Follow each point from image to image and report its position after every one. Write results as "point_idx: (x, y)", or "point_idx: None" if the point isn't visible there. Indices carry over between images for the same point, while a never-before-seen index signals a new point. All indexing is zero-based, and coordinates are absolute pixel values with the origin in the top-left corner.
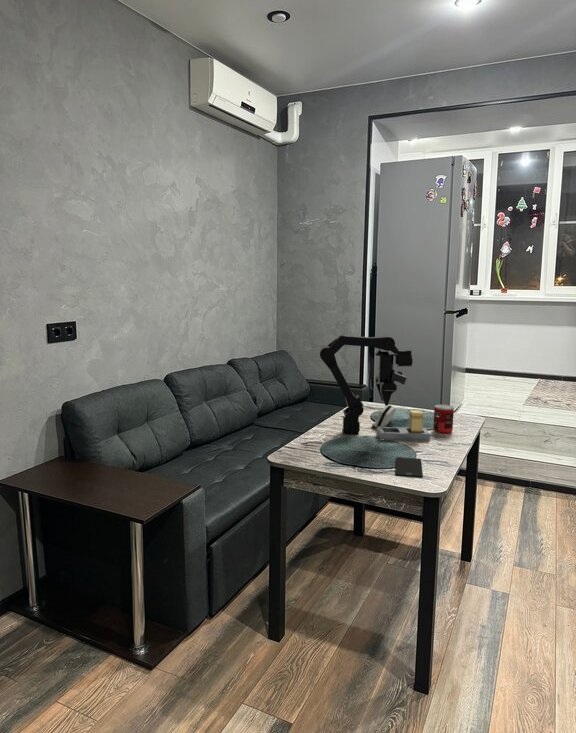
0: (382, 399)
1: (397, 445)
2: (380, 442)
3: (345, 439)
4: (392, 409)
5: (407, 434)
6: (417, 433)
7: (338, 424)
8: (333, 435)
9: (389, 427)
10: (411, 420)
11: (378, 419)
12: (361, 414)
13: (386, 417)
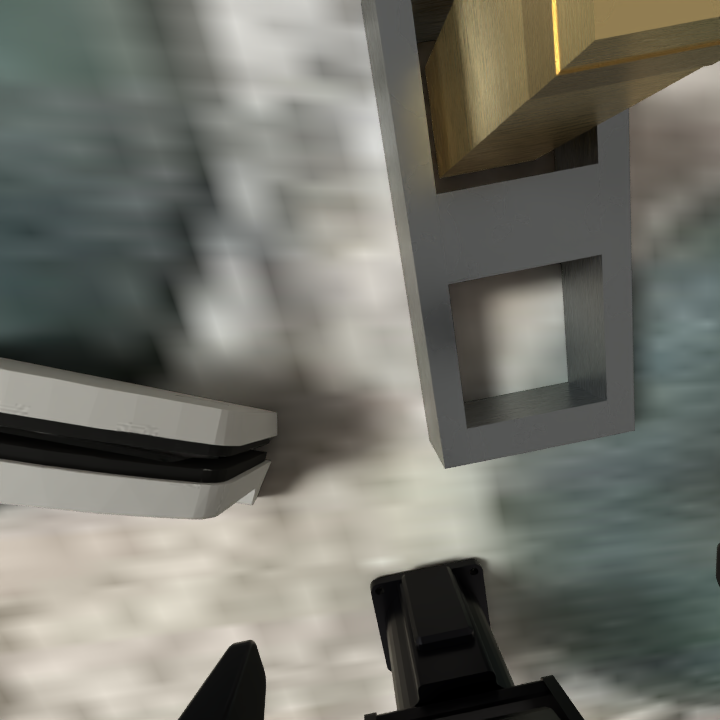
0: (259, 698)
1: (709, 277)
2: (641, 402)
3: (591, 615)
4: (14, 375)
5: (622, 183)
6: None
7: None
8: None
9: (436, 361)
10: (657, 84)
11: (247, 483)
12: (551, 711)
13: (246, 418)
